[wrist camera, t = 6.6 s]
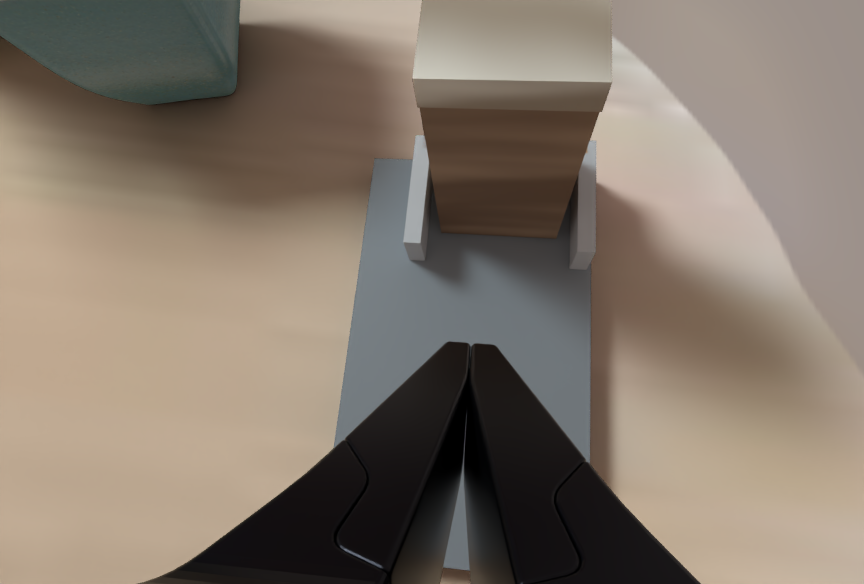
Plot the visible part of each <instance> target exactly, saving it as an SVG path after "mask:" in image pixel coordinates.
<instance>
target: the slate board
mask: <svg viewBox="0 0 864 584" xmlns="http://www.w3.org/2000/svg"><path fill="white" fill-rule="evenodd" d="M595 253H596V141H589V144H588V147H587V150H586V153H585V156H584V159H583V161H582V164H581V167H580V170H579V173H578V176H577V179H576V182H575V185H574V188H573V191H572V194H571V197H570V200H569V202H568V205H567V208H566V211H565V214H564V217H563V220H562V223H561V226H560V229H559V232H558V235H557V238H556V239H552V238H533V237H513V236H493V235H474V234H454V233H441V228H440V222H439V217H438V211H437V205H436V199H435V193H434V188H433V182H432V176H431V170H430V164H429V159H428V153H427V147H426V141H425V136H424V135H416V138H415V146H414V155H413V160H406V159H378V158H375V159H374V167H373V174H372V181H371V188H370V195H369V202H368V209H367V216H366V223H365V230H364V237H363V244H362V251H361V258H360V266H359V273H358V280H357V287H356V294H355V301H354V308H353V315H352V322H351V329H350V336H349V343H348V350H347V357H346V365H345V372H344V379H343V386H342V393H341V400H340V407H339V414H338V421H337V428H336V435H335V442H334V448H335V447H336V446H337V445H338V444H339V443H340V442H341V441H342V440H345V438H346V436H348V435H349V434H350V433H351V432H352V431H353V430H354V429H355V428H356V427H357V426H358V425H359V424H360V423H361V422H362V421H363V420H364V419H366V418H367V417H368V416H369V415H370V414H371V413H372V412H373V411H374V410H375V409H376V408H377V407H378V406H379V405H380V404H381V403H382V402H384V401H385V400H386V399H387V398H388V397H389V396H390V395H391V394H392V393H393V392H394V391H395V390H396V389H397V388H398V387H399V386H400V385H401V384H403V383H404V382H405V381H406V380H407V379H408V378H409V377H410V376H411V375H412V374H413V373H414V372H415V371H416V370H417V369H418V368H419V367H421V366H422V365H423V364H424V363H425V362H426V361H427V360H428V359H429V358H430V357H431V356H432V355H433V354H434V353H435V352H436V351H437V350H438V349H440V348H441V347H442V346H443V345H444V344H445V343H446V342H449V341H451V342H465V343H469V344H470V346H472V345H473V344H475V343H479V344H493V345H495V346H497V347H498V349H499V350H500V351H501V353H502V354H503V355H504V356H505V358H506V359H507V360H508V361H509V363H510V364H511V365H512V366H513V368H514V369H515V370H516V371H517V373H518V374H519V375H520V377H521V378H522V379H523V380H524V382H525V383H526V384H527V385H528V387H529V388H530V389H531V390H532V392H533V393H534V394H535V395H536V397H537V398H538V399H539V401H540V402H541V403H542V404H543V406H544V407H545V408H546V409H547V411H548V412H549V413H550V414H551V416H552V417H553V418H554V419H555V421H556V422H557V423H558V424H559V426H560V427H561V428H562V430H563V431H564V432H565V433H566V435H567V436H568V437H569V438H570V440H571V441H572V442H573V443H574V445H575V446H576V447H577V448H578V450H579V451H580V452H581V454H582V455H583V456H584V457H585V459H586V462H589V463H590V361H591V260H592V259H593V257H594V255H595ZM470 355H471V352H470ZM466 415H467V414H466ZM465 432H466V429H465ZM464 448H465V444H464ZM463 469H464V459H463V468H462V475H461V481H460V487H459V492H458V496H457V501H456V506H455V511H454V516H453V521H452V526H451V531H450V535H449V540H448V545H447V550H446V555H445V560H444V565H443V567H444V568H453V569H461V570H469V571H470V569H469V554H468V539H467V524H466V509H465V494H464V474H463Z"/></svg>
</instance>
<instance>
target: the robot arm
mask: <svg viewBox="0 0 864 584" xmlns="http://www.w3.org/2000/svg"><path fill="white" fill-rule="evenodd" d="M470 352H471V355H470ZM466 414H467V415H466ZM465 429H466V432H465ZM464 444H465V448H464ZM463 459H464V469H463V474H464V494H465V509H466V524H467V539H468V554H469V569H470V584H701V583H700V582H699V581H698V580H697V579H696V578H695V577H694V576H693V575H692V574H691V573H690V572H689V571H688V570H687V569H686V568H685V567H684V566H683V565H682V564H681V563H680V562H679V561H678V560H677V559H676V558H675V557H674V556H673V555H672V554H671V553H670V552H669V551H668V550H667V549H666V548H665V547H664V546H663V545H662V544H661V543H660V542H659V541H658V540H657V539H656V538H655V537H654V536H653V535H652V534H651V533H650V532H649V531H648V530H647V529H646V528H645V527H644V526H643V525H642V523H641V522H640V521H639V520H638V519H637V518H636V517H635V516H634V515H633V514H632V513H631V512H630V511H629V510H628V509H627V508H626V507H625V505H624V504H623V503H622V502H621V501H620V500H619V499H618V497H617V496H616V495H615V494H614V493H613V491H612V490H611V489H610V488H609V487H608V486H607V484H606V483H605V482H604V481H603V480H602V478H601V477H600V476H599V475H598V473H597V472H596V471H595V470H594V468H593V467H592V466H591V465H590V463H589V462H586V459H585V457H584V456H583V455H582V454H581V452H580V451H579V450H578V448H577V447H576V446H575V445H574V443H573V442H572V441H571V440H570V438H569V437H568V436H567V435H566V433H565V432H564V431H563V430H562V428H561V427H560V426H559V424H558V423H557V422H556V421H555V419H554V418H553V417H552V416H551V414H550V413H549V412H548V411H547V409H546V408H545V407H544V406H543V404H542V403H541V402H540V401H539V399H538V398H537V397H536V395H535V394H534V393H533V392H532V390H531V389H530V388H529V387H528V385H527V384H526V383H525V382H524V380H523V379H522V378H521V377H520V375H519V374H518V373H517V371H516V370H515V369H514V368H513V366H512V365H511V364H510V363H509V361H508V360H507V359H506V358H505V356H504V355H503V354H502V353H501V351H500V350H499V349H498V347H497V346H495V345H493V344H479V343H475V344H473V345H472V346H470V344H469V343H465V342H451V341H449V342H446V343H445V344H444V345H443V346H442V347H441V348H440V349H438V350H437V351H436V352H435V353H434V354H433V355H432V356H431V357H430V358H429V359H428V360H427V361H426V362H425V363H424V364H423V365H422V366H421V367H419V368H418V369H417V370H416V371H415V372H414V373H413V374H412V375H411V376H410V377H409V378H408V379H407V380H406V381H405V382H404V383H403V384H401V385H400V386H399V387H398V388H397V389H396V390H395V391H394V392H393V393H392V394H391V395H390V396H389V397H388V398H387V399H386V400H385V401H384V402H382V403H381V404H380V405H379V406H378V407H377V408H376V409H375V410H374V411H373V412H372V413H371V414H370V415H369V416H368V417H367V418H366V419H364V420H363V421H362V422H361V423H360V424H359V425H358V426H357V427H356V428H355V429H354V430H353V431H352V432H351V433H350V434H349V435H348V436H346V438H345V440H342V441H341V442H340V443H339V444H338V445H337V446H336V447H335V448H333V449H332V450H331V451H330V452H329V453H328V454H327V455H326V456H325V457H324V458H323V459H321V460H320V461H319V462H318V463H317V464H316V465H315V466H314V467H312V468H311V469H310V470H309V471H308V472H307V473H306V474H304V475H303V476H302V477H301V478H299V479H298V480H297V481H296V482H294V483H293V484H292V485H290V486H289V487H288V488H287V489H285V490H284V491H283V492H282V493H280V494H279V495H278V496H276V497H275V498H274V499H272V500H271V501H270V502H268V503H267V504H266V505H264V506H263V507H262V508H260V509H259V510H258V511H256V512H255V513H254V514H252V515H251V516H250V517H248V518H247V519H246V520H244V521H243V522H242V523H240V524H239V525H238V526H236V527H235V528H234V529H232V530H231V531H230V532H228V533H227V534H226V535H224V536H223V537H222V538H220V539H219V540H218V541H216V542H215V543H214V544H212V545H211V546H210V547H208V548H207V549H206V550H204V551H203V552H201V553H200V554H199V555H197V556H196V557H194V558H193V559H191V560H190V561H188V562H187V563H185V564H183V565H182V566H180V567H178V568H176V569H175V570H173V571H171V572H169V573H166V574H164V575H162V576H160V577H157V578H154V579H152V580H149V581H146V582H142V583H138V584H440V579H441V574H442V570H443V565H444V560H445V555H446V550H447V545H448V540H449V535H450V531H451V526H452V521H453V516H454V511H455V506H456V501H457V496H458V492H459V487H460V481H461V475H462V468H463Z"/></svg>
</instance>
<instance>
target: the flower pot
mask: <svg viewBox="0 0 864 584" xmlns="http://www.w3.org/2000/svg"><path fill="white" fill-rule="evenodd" d="M239 15H240V0H0V36H1V37H3V38H4V39H6V40H7V41H8V42H10V43H11V44H13V45H14V46H16V47H17V48H19V49H20V50H22V51H23V52H24V53H26V54H27V55H29V56H30V57H32V58H33V59H35V60H36V61H37V62H39V63H40V64H42V65H43V66H45V67H46V68H48V69H49V70H51V71H52V72H54V73H56V74H57V75H59V76H61V77H62V78H64V79H66V80H68V81H70V82H71V83H73V84H75V85H77V86H79V87H82V88H84V89H86V90H89V91H91V92H94V93H97V94H100V95H103V96H106V97H109V98H113V99H117V100H122V101H127V102H133V103H140V104H147V105H152V104H161V103H169V102H176V101H183V100H191V99H201V98H210V97H219V96H227V95H230V94H232V93H233V92H234V91H235V89H236V86H237V64H238V39H239Z"/></svg>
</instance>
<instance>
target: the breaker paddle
mask: <svg viewBox="0 0 864 584" xmlns="http://www.w3.org/2000/svg"><path fill="white" fill-rule="evenodd" d="M611 5H612V0H422V5H421V13H420V21H419V29H418V37H417V45H416V53H415V61H414V69H413V77H412V80H413V85H414V91H415V96H416V102H417V107H420V112H421V118H422V124H423V130H424V136H425V141H426V147H427V153H428V159H429V164H430V170H431V176H432V182H433V188H434V193H435V199H436V205H437V211H438V217H439V222H440V228H441V233H454V234H474V235H493V236H513V237H533V238H552V239H556V238H557V235H558V232H559V229H560V226H561V223H562V220H563V217H564V214H565V211H566V208H567V205H568V202H569V200H570V197H571V194H572V191H573V188H574V185H575V182H576V179H577V176H578V173H579V170H580V167H581V164H582V161H583V159H584V156H585V153H586V150H587V147H588V144H589V141H590V138H591V135H592V132H593V129H594V126H595V123H596V120H597V118H598V115H599V112H602V110H603V107H604V104H605V101H606V99H607V96H608V93H609V90H610V87H611V84H612V6H611Z"/></svg>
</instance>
